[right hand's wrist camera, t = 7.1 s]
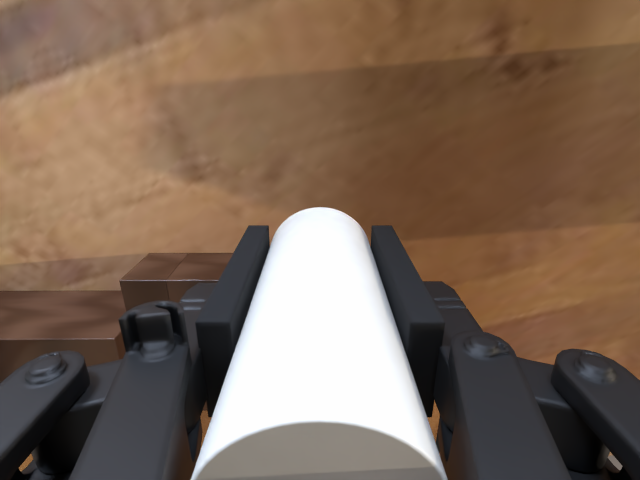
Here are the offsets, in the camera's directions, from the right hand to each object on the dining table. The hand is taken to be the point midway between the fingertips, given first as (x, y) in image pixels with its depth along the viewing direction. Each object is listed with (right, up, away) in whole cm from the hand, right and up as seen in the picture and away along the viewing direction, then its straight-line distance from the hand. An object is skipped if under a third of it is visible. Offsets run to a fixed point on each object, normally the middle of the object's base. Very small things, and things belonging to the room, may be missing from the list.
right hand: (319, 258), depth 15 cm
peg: (0, 0, 0) cm, 0 cm away
